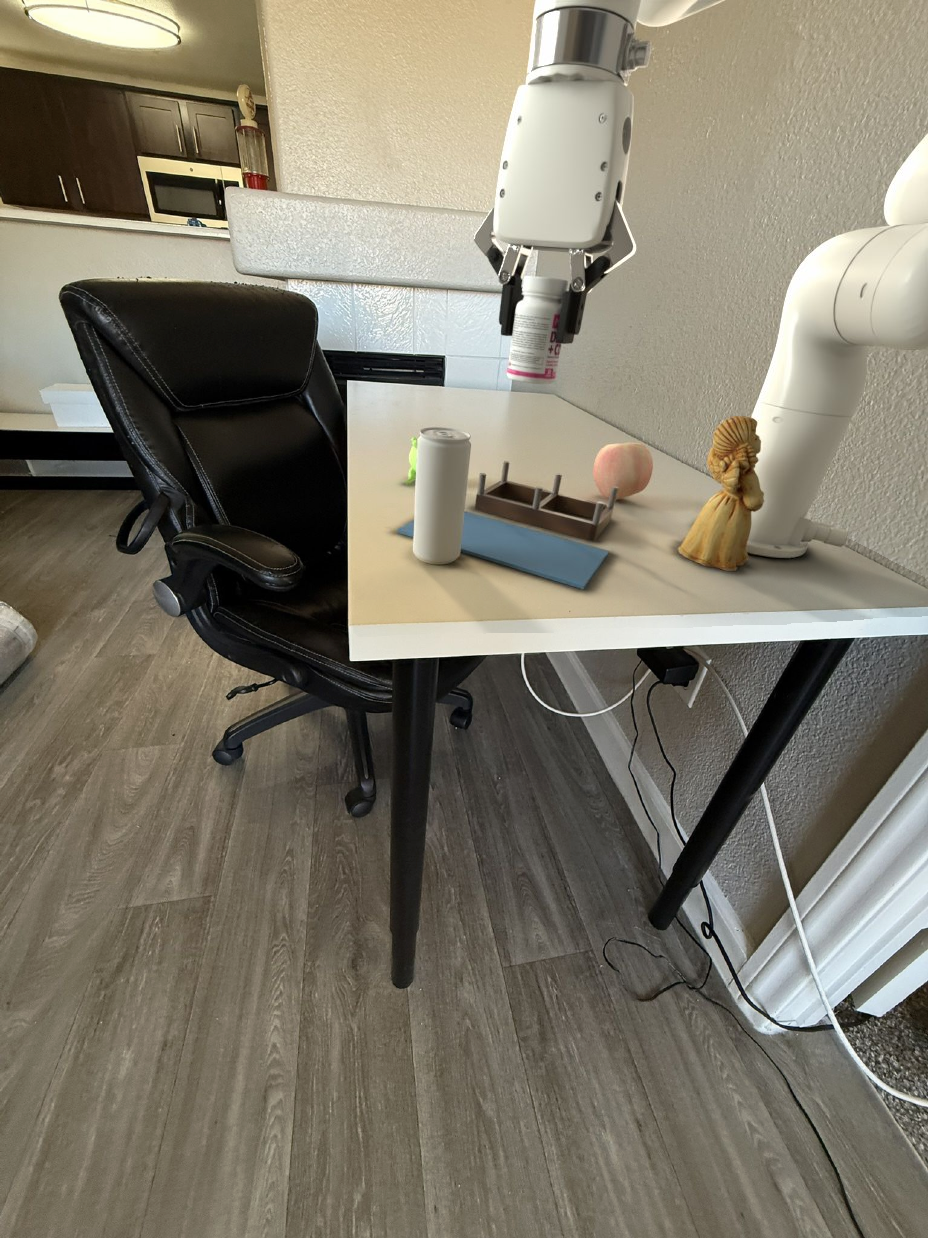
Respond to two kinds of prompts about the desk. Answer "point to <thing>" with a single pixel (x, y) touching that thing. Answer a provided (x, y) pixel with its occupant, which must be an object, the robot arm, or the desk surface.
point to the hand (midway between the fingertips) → (537, 336)
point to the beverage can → (440, 493)
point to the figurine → (728, 498)
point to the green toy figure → (412, 461)
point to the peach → (622, 469)
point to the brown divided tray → (545, 506)
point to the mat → (527, 550)
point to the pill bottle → (536, 331)
